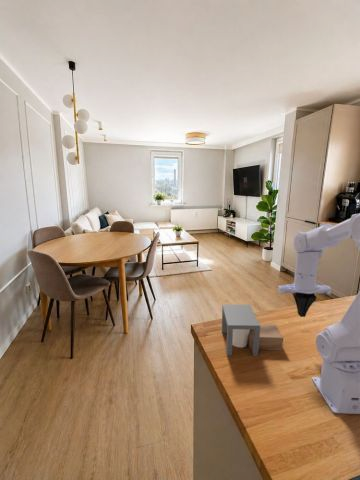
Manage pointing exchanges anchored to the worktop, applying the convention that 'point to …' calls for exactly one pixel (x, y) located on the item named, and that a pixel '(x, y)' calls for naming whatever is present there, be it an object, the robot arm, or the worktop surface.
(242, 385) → the worktop surface
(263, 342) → the tan wooden chunk
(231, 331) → the grey tunnel arch
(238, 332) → the white cylinder
